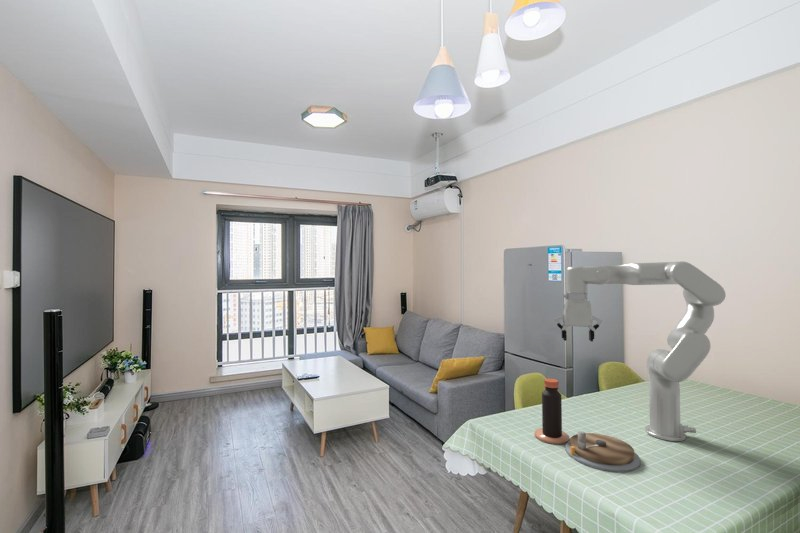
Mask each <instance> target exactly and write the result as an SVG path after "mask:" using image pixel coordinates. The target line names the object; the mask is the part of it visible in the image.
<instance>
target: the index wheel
mask: <svg viewBox="0 0 800 533" xmlns="http://www.w3.org/2000/svg"><path fill="white" fill-rule="evenodd" d="M569 441H570V446H573V447H575V453H576V454H577V455H579V456H581V457H583V458H585V459H588V460H590V461H594V462H597V463H602V464H608V465H625V464H629V463H631V462H633V461H634V452H635V450H634V448H633V447H632V446H631V445H630V444H629V443H627V442H626V441H624V440H621V439H619V438H617V437H613V436H610V435H605V434H600V433H594V432H593V433H591V432H584V431H577V433H576V434H574V435H572V436H571V437H569Z"/></svg>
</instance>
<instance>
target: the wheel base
mask: <svg viewBox="0 0 800 533" xmlns="http://www.w3.org/2000/svg"><path fill="white" fill-rule="evenodd" d="M565 452H566V454H567V455H568V457H570V458H571V459H573V460H574V461H575V462H578V463H579V464H582V465H584V466H586V467H590V468H593V469H597V470H601V471H604V472H605V471H607V472H614V473H615V472H616V473H617V472H618V473H624V472H632V471H635V470H636V469H637V470H638V468H639V467H640V466H641V459H640V457H639V455H638V454H637V453H636V452H635V451H634V461H633V462H631V463H629V464H625V465H608V464H602V463H597V462H594V461H590V460H588V459H585V458H583V457H581V456H579V455H577V454H576V453H575V447H573V446H570V440H569V441H568V442H567V443H565Z"/></svg>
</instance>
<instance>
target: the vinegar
mask: <svg viewBox="0 0 800 533" xmlns="http://www.w3.org/2000/svg"><path fill="white" fill-rule="evenodd" d="M543 382H544V385H543V386H544V390H543V391H542V392H541V400H542V401H541V410H542V411H541V416H542V417H541V418H542V419H541V420H542V424H541V425H542V426H541V428H542V431H543V434H544V435H545V436H547V437H551V438H559V437H561V436H562V431H563V421H562V420H563V414H562V413H563V411H562V405H563V404H562V394H561V393H560V391H559V390H558V389H559V380H557V379H555V378H545V379H544V381H543Z"/></svg>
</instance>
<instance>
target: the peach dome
mask: <svg viewBox="0 0 800 533" xmlns="http://www.w3.org/2000/svg"><path fill="white" fill-rule="evenodd" d="M534 437H535V438H536V439H537V440H538V441H541V442H543V443H546V444H549V445H550V444H551V445H564V444H565V445H566V443H567V442H568V441H570V435H569V434H568V433H567V432H565V431H563V430H562V436H561V437H559V438H551V437H547V436H545V435H544V434H543V431H542V427H541V428H536V429H535V430H534Z"/></svg>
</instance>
